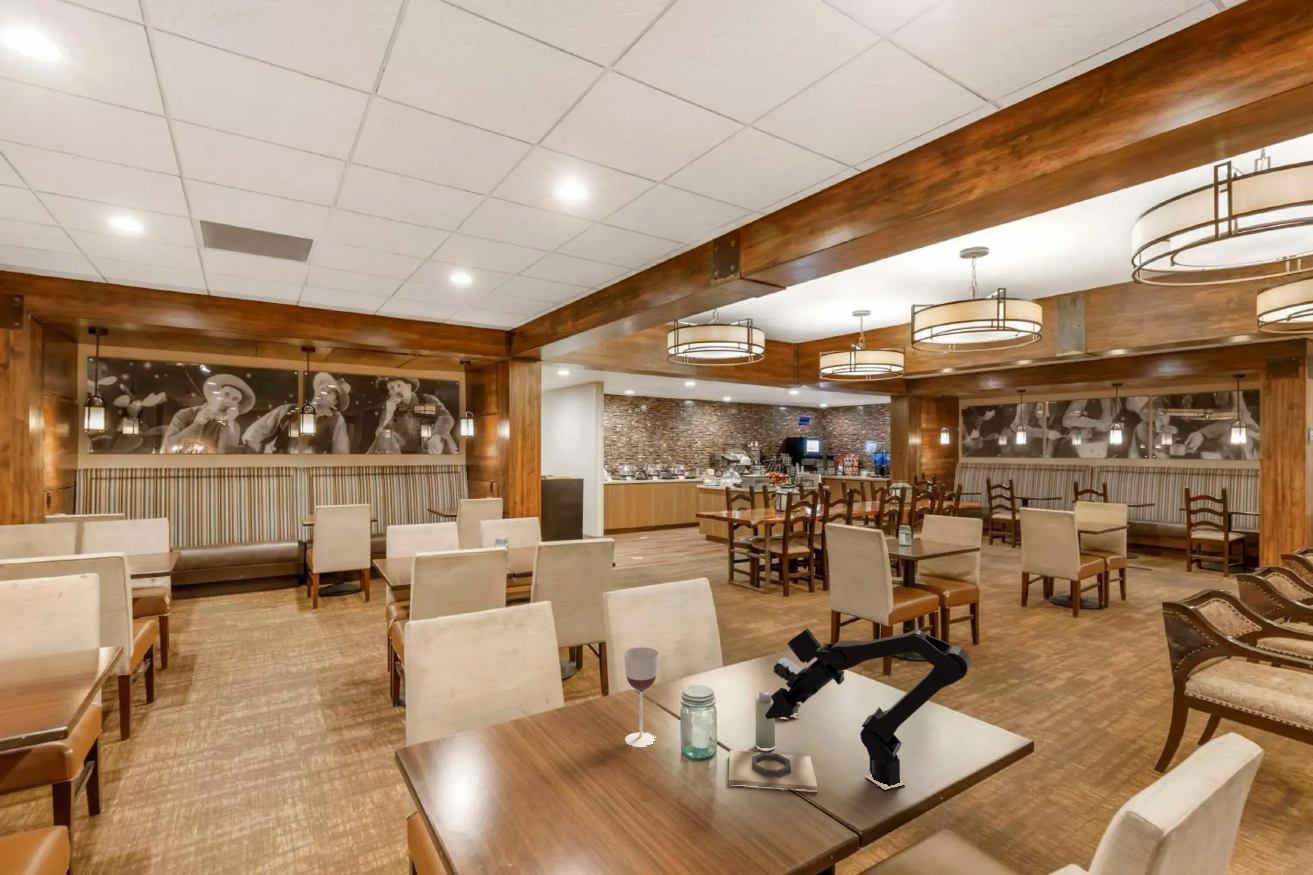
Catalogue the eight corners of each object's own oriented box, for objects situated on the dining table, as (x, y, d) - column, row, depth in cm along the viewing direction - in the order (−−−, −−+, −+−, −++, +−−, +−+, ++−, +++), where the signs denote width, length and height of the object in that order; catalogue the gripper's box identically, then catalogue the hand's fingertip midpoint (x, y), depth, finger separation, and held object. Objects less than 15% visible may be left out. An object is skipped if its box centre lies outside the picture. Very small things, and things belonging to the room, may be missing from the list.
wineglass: (659, 731, 166) (659, 647, 167) (655, 749, 156) (656, 659, 157) (626, 730, 167) (627, 646, 168) (621, 747, 157) (621, 658, 158)
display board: (810, 762, 150) (810, 751, 150) (817, 792, 136) (817, 780, 136) (729, 756, 153) (729, 745, 153) (728, 785, 139) (728, 773, 139)
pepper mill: (778, 749, 156) (778, 695, 157) (762, 753, 154) (762, 697, 155) (768, 741, 161) (768, 688, 161) (752, 744, 159) (752, 690, 160)
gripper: (805, 641, 162) (767, 673, 168) (779, 660, 147) (737, 695, 152) (834, 676, 157) (794, 709, 163) (810, 700, 142) (766, 735, 148)
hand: (773, 710), depth 157 cm, fingers open, 9 cm apart
